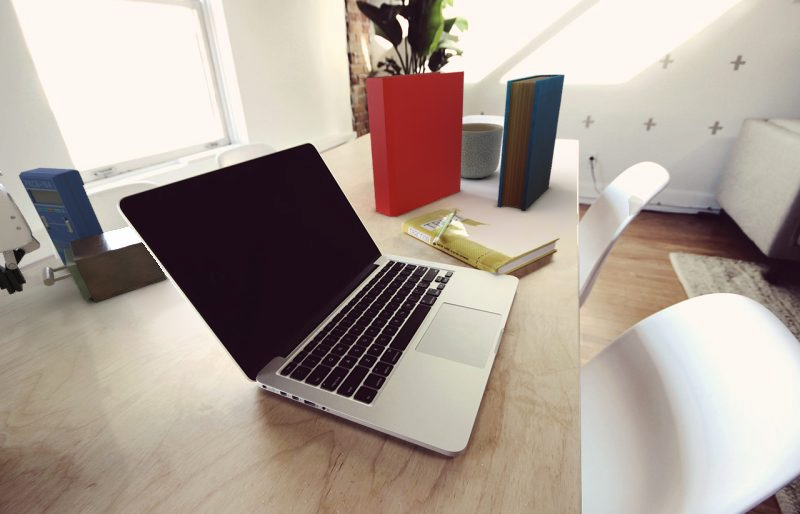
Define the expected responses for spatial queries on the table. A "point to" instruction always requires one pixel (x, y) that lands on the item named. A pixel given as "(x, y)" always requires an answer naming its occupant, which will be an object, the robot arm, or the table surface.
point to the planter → (480, 149)
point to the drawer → (74, 272)
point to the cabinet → (115, 263)
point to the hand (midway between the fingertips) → (16, 289)
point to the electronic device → (61, 205)
